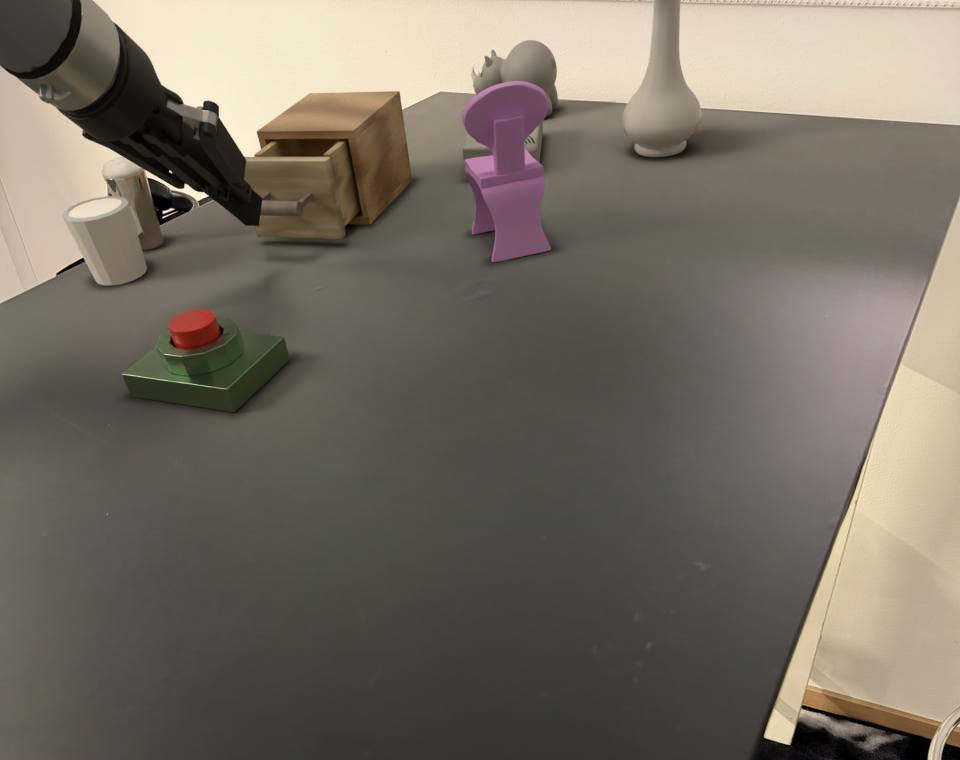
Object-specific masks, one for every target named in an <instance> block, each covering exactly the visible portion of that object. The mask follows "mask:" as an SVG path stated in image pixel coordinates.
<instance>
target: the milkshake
mask: <svg viewBox="0 0 960 760" xmlns="http://www.w3.org/2000/svg"><path fill="white" fill-rule="evenodd" d="M101 175H102V178H103V181H105V184H106V186H107V188H108V190H109V192H110V194H111V196H119V197H124V198H126V199H127V200H128V202H129V205H130V209H131V212H132V216H133V220H134V223H135V227H136V230H137V234H138V238H139V241H140V245H141V248H142V251H150V250H153V249H156V248H158V247H161V246H162V245H164V242H165V241H164V240H165V239H164V236H163V233H162V228H161V225H160V221H159V218H158V213H157V210H156V207H155V204H154V203H155V202H154V199H153V196H152V192H151V188H150V184H149V180H148V175H147V171H146V170H145V169H143V168H141V167H139V166H138V165H136V164H134V163H133V162H131V161H129V160H128V159H126V158H124V157H123V156H118V157H115V158H113V159H110V160H107V161H106V162H104V163H103V166H102V168H101Z"/></svg>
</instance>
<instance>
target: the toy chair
mask: <svg viewBox="0 0 960 760" xmlns="http://www.w3.org/2000/svg"><path fill="white" fill-rule="evenodd" d="M547 111H548V100H547V95H546V93H545V92H544V90H543V89H541V88H540V87H539V86H537V85H534V84H532V83H528V82H523V81H511V82H506V83H501V84H497V85H494V86H491V87H489V88H487V89H485V90H483V91H482V92H480V93H479V94H475V95H474V96H473V97H472V98H471V99H469V101H468V102H467V103H466V104H465V105H464V107H463V110H462V113H461V119H462V124H463V126H464V129H465V131H466V133H468V134H469V135H470V136H471V137H473V138H474V139H475V140H476V142H478V143H480V144H483V145H485V146H486V147H488V148H489V149H491V150H492V152H493V155H491V156H483V157H475V158H470V159H465V160H463V164H464V163H465V169H464V176H465V175H466V176H465V177H466V180H467V182H468V184H469V186H470V188H471V190H472V193H473V197H474V215H473V222H472V227H471V235H477V234H484V233H488V232H493V231H495V232H494V244H493V248H492V249H493V250H492V255H491V262H492V263H498V262H503V261H508V260H512V259H516V258H521V257H525V256H531V255H534V254H535V255H536V254H539V253H540V254H541V253H546V252H550V251H551V250H552V247H551V245H550V242H549V241H548V238H547V236H546V235H545V231H544V229H543V226H542V221H541V205H542V200H543V196H544V190H545V188H546V187H545V186H546V179H545V177H544V176H545V169H544V165H542V164H541V162H540V161H539V162H538V161H536V160H535V159H534V158H533V157H532V156H531V155H530V153H529V152H528V151H527V150H526V149H525V143H524V141H525V139H526V138H527V137H528V136H529V135H530V134H531V133H532V132H533V131H534V130H535V129H536V128H537V127H538V126H539V125H540V124H541V122H543V121H545V119H546V117H547V116H546V115H547Z"/></svg>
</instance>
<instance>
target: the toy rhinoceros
mask: <svg viewBox="0 0 960 760" xmlns="http://www.w3.org/2000/svg"><path fill="white" fill-rule="evenodd" d="M483 57H484V63H483V64H482V66H481V72H480V71H477V74H476V72H475V69H474V67H472V68H471V72H470V76H471V80H472V83H473V84H472V87H473V90H474V93H475V95H477V94H479V93H480V92H482V91H483V90H485V89H487V88H489V87H491V86H494V85H497V84H501V83H506V82H511V81H523V82H528V83H532V84H534V85H537V86H539V87H540V88H541V89H543V90H544V92H545V93H546V95H547V100H548V111H547V115H546V117H549V116H551V115H552V113H553V108H555V106H557V104H558V102H559V101H558V100H559V97H558V90H557V87H556V85H555V83H556V80H557V74H558V67H557V62H556V58H555V55H554V53H553V52H552V51H551V49H550V48H549V47H548V46H547V45H545V44H544V43H543V42H542V41H540V40H539V41H538V40H535V39H534V40H533V39H528V40H523V41H521V42H520V43H517V44H516V45H514V47H513V48H511V50H510V51H509V53H508V55H507V56H506V58H502V57H501V56H498V55H497V53H496V51H495V50H494V49H491V51H490V56H488V55H484V56H483Z"/></svg>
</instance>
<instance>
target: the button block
mask: <svg viewBox="0 0 960 760" xmlns="http://www.w3.org/2000/svg"><path fill="white" fill-rule="evenodd" d="M216 319H217V322H218V325H219V328H220V331H221V337H220V338H218V339H217V340H216V341H215V342H212V343H210V344H207V345H205V346H203V347H199V348H192V349H180V348H177V347H176V346H175V344H174V342H173V339H172V336H171V334H170V331H169V328H168V329H166V330H165V331H164V332H162V333H161V334H160V335H158V337H157V340H156V344H155V346H154V347H153V348H152V349H151V350H150V351H148V352H147V353H146V354H144V356H142V357H141V358H140V359H138V360H137V361H136V362H135V363H133V364H132V365H131V366H129V367H128V368H127V369H126V370H125V371H123V372H122V373H121V376H122V378H123V381H124V383H125V385H126V386H125V387H126V388H127V390H128V393H129V395H130V397H132V398H137V399H138V398H140V399H146V400H153V401H157V402H164V403H171V404H178V405H182V406H183V405H185V406H191V407H196V408H204V409H210V410H217V411H223V412H228V413H229V412H230V413H236V412H237V411H238V410H239V409H241V407H242V406H243V405H245V403H246V402H248V401H249V399H251V397H252V396H254V395H255V394H256V393H257V392H258V391H259V390H260V389H261V388H262V387H263V386H264V385H265V384H266V383H268V381H269V380H270V379H272V377H274V375H276V374H277V373H278V372H279V371H280V370H281V369H282V368H283V367H284V366H285V365H286V364H287V363H288V362H289V361H291V358H290V353H289V351H288V346H287V343H286V338H285V337H284V336H281V335H274V334H273V335H272V334H264V333H256V332H246V331H240V328H239V325H238V324H237V323H236V322H235V321H234V320H232V319H231V318H229V317H223V316H216Z"/></svg>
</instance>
